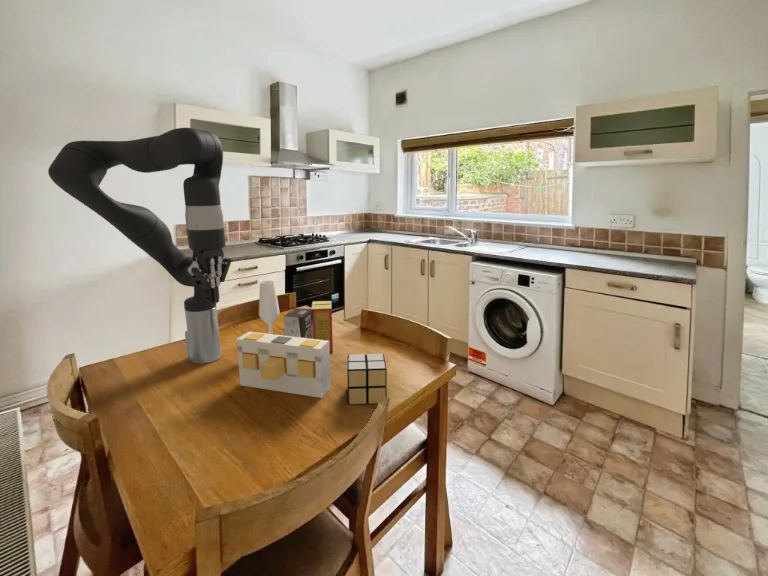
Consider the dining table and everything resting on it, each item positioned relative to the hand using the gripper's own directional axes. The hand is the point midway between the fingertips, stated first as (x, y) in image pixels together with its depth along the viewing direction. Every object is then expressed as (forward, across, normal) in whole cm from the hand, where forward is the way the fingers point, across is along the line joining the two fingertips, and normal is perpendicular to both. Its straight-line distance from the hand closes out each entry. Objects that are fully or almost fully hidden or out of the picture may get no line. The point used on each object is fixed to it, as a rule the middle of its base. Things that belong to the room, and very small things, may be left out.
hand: (213, 302), depth 94 cm
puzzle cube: (+29, +20, -30) cm, 46 cm away
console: (+29, +18, -6) cm, 35 cm away
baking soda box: (+29, +47, -5) cm, 56 cm away
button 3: (+23, +17, -15) cm, 32 cm away
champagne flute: (+29, +40, +11) cm, 51 cm away
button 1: (+23, +17, +2) cm, 29 cm away
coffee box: (+29, +36, -2) cm, 46 cm away
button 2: (+23, +13, -7) cm, 27 cm away
